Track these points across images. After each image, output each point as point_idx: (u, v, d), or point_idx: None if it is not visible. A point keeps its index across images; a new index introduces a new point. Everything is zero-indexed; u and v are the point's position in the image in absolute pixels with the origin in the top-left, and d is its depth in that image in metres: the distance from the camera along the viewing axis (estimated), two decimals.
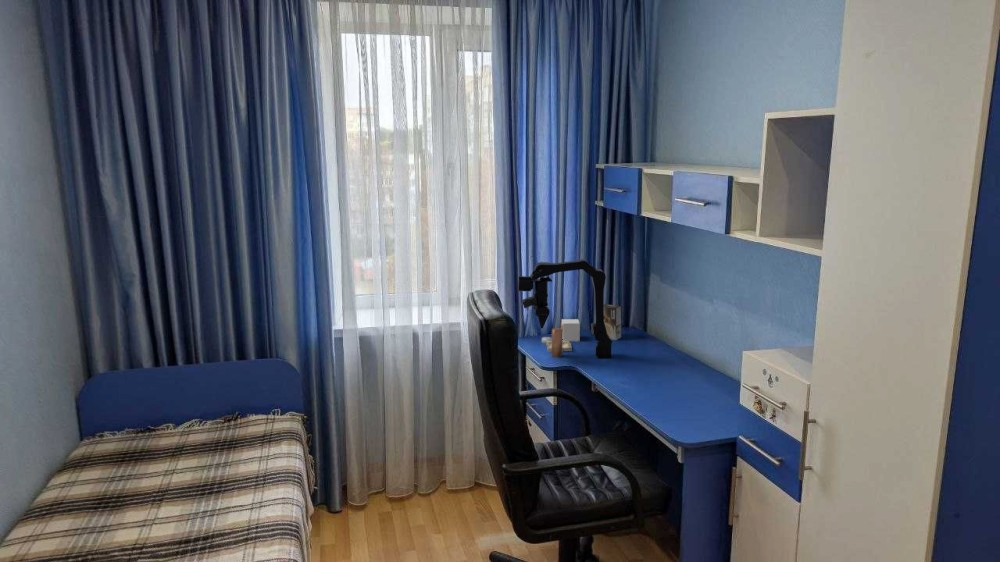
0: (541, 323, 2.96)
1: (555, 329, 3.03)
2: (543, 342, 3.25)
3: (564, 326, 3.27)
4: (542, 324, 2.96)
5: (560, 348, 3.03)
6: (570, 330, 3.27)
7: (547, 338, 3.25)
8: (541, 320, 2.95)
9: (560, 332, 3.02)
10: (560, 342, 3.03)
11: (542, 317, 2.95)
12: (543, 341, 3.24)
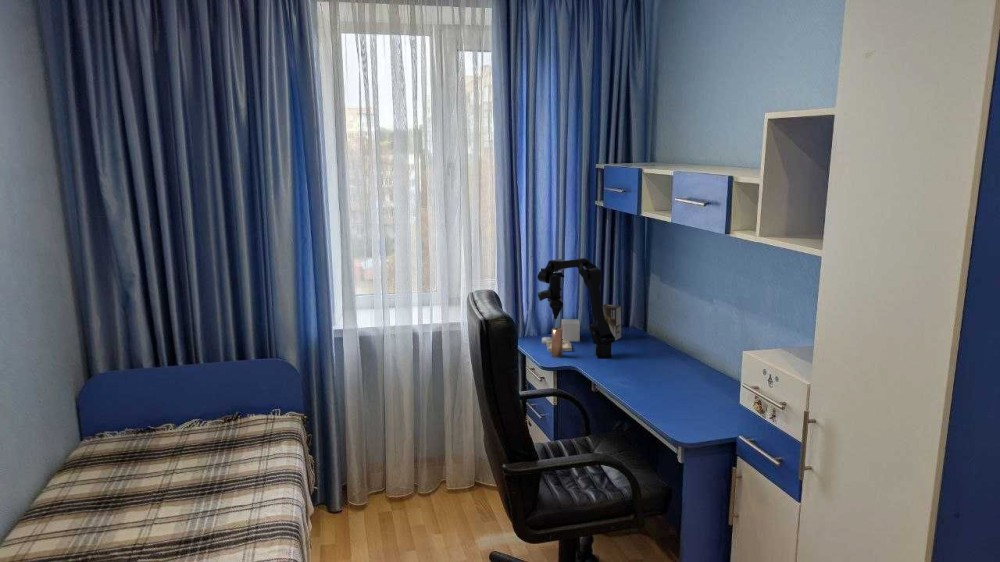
0: (555, 314, 3.24)
1: (555, 329, 3.03)
2: (543, 342, 3.25)
3: (564, 326, 3.27)
4: (556, 316, 3.24)
5: (560, 348, 3.03)
6: (570, 330, 3.27)
7: (547, 338, 3.25)
8: (555, 312, 3.23)
9: (560, 332, 3.02)
10: (560, 342, 3.03)
11: (556, 309, 3.23)
12: (543, 341, 3.24)
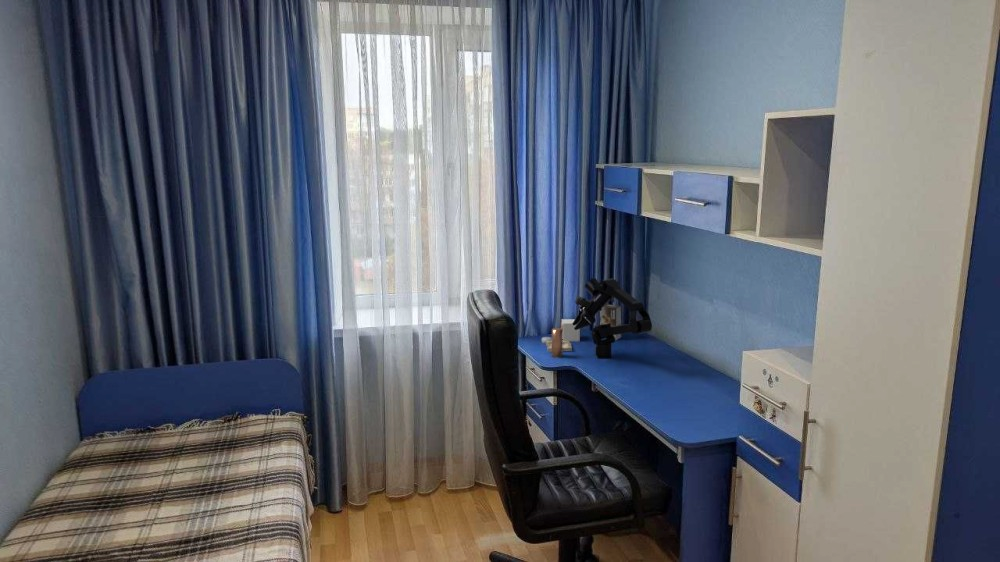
0: (578, 325, 2.97)
1: (555, 329, 3.03)
2: (543, 342, 3.25)
3: (564, 326, 3.27)
4: (578, 327, 2.98)
5: (560, 348, 3.03)
6: (570, 330, 3.27)
7: (547, 338, 3.25)
8: (580, 323, 2.97)
9: (560, 332, 3.02)
10: (560, 342, 3.03)
11: (583, 322, 2.97)
12: (543, 341, 3.24)
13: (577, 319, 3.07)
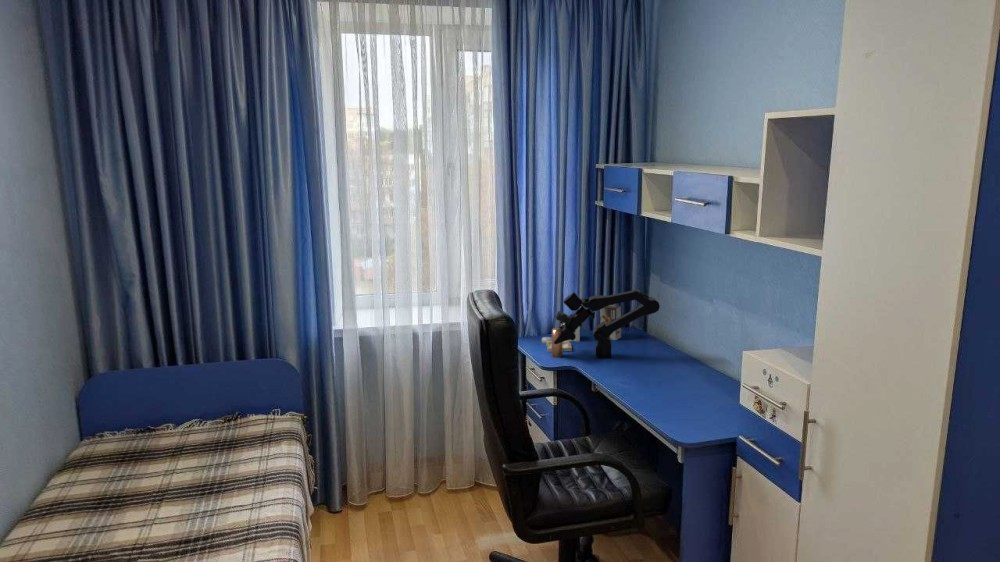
0: (558, 340, 3.01)
1: (555, 329, 3.03)
2: (543, 342, 3.25)
3: None
4: (558, 342, 3.01)
5: (560, 348, 3.03)
6: None
7: (547, 338, 3.25)
8: (560, 338, 3.00)
9: (560, 332, 3.02)
10: None
11: (563, 336, 3.00)
12: (543, 341, 3.24)
13: None
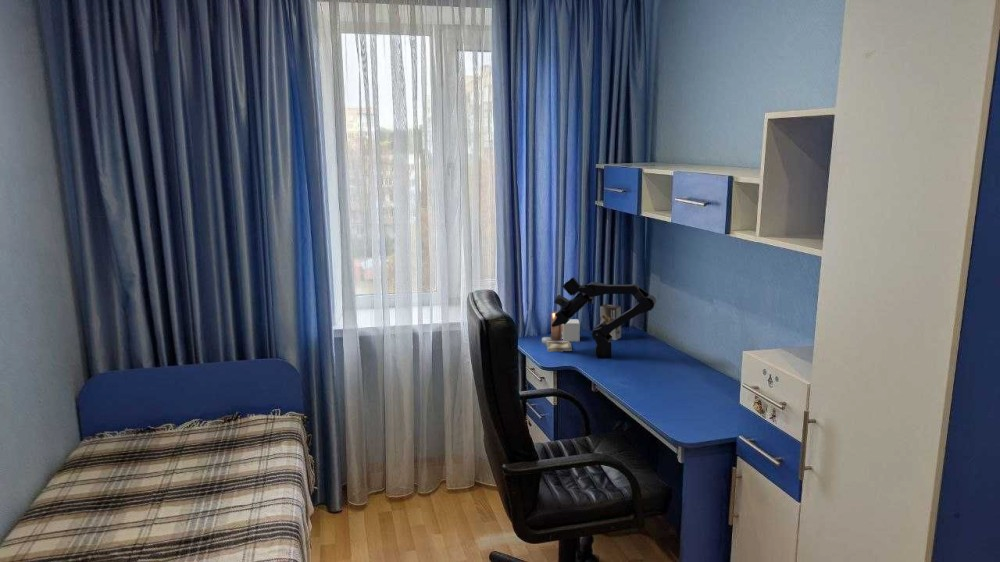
0: (554, 323, 3.06)
1: (554, 312, 3.09)
2: (543, 342, 3.25)
3: (564, 326, 3.27)
4: (554, 325, 3.07)
5: (558, 331, 3.08)
6: (570, 330, 3.27)
7: (547, 338, 3.25)
8: (556, 321, 3.06)
9: None
10: (558, 325, 3.08)
11: (559, 320, 3.05)
12: (543, 341, 3.24)
13: None
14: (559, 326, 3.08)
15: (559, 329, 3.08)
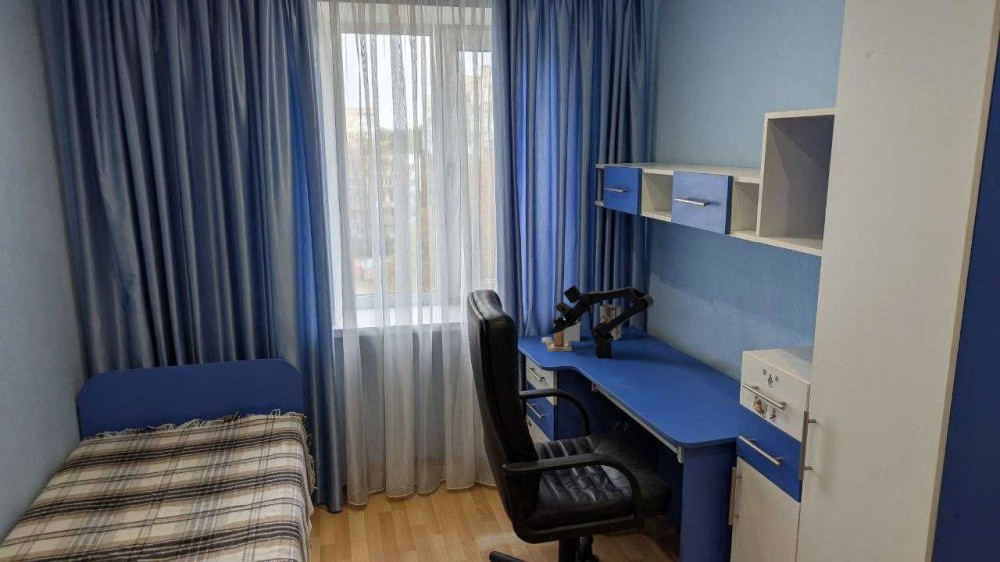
0: (554, 330, 3.11)
1: None
2: (543, 342, 3.25)
3: None
4: (554, 332, 3.12)
5: (559, 339, 3.14)
6: (570, 330, 3.27)
7: (547, 338, 3.25)
8: (555, 328, 3.10)
9: None
10: (559, 334, 3.14)
11: (558, 327, 3.10)
12: (543, 341, 3.24)
13: None
14: (560, 334, 3.14)
15: (560, 337, 3.14)
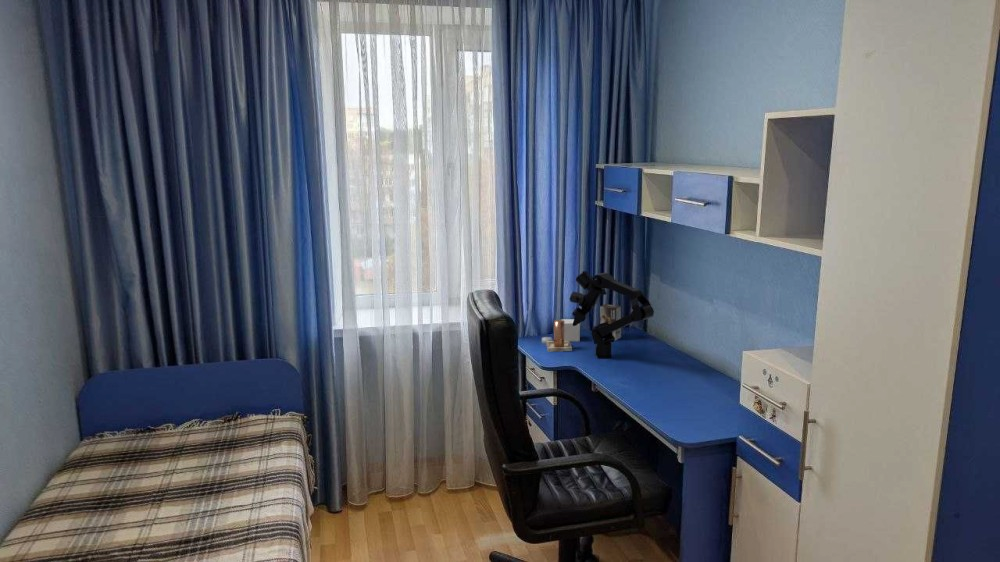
0: (574, 322, 3.07)
1: (557, 321, 3.15)
2: (543, 342, 3.25)
3: (564, 326, 3.27)
4: (575, 324, 3.07)
5: (559, 339, 3.14)
6: (570, 330, 3.27)
7: (547, 338, 3.25)
8: (575, 320, 3.06)
9: (559, 324, 3.13)
10: (559, 334, 3.14)
11: (578, 318, 3.05)
12: (543, 341, 3.24)
13: None
14: (561, 334, 3.14)
15: (561, 337, 3.14)
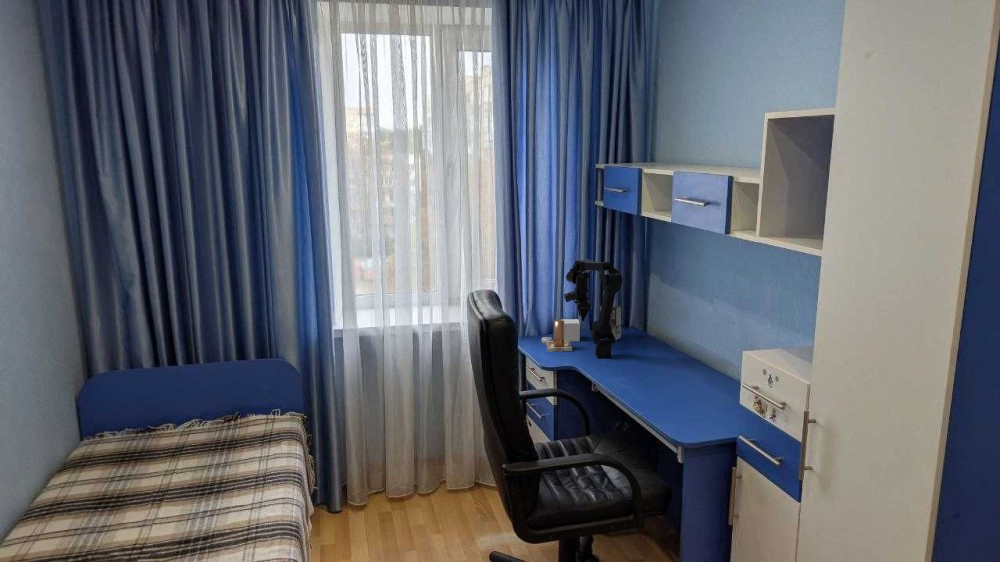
0: (582, 316, 3.14)
1: (557, 321, 3.15)
2: (543, 342, 3.24)
3: (564, 326, 3.27)
4: (583, 317, 3.14)
5: (559, 339, 3.14)
6: (570, 330, 3.27)
7: (547, 338, 3.26)
8: (582, 313, 3.14)
9: (559, 324, 3.13)
10: (559, 334, 3.14)
11: (583, 310, 3.13)
12: (543, 341, 3.24)
13: (579, 309, 3.24)
14: (560, 334, 3.14)
15: (560, 337, 3.14)
